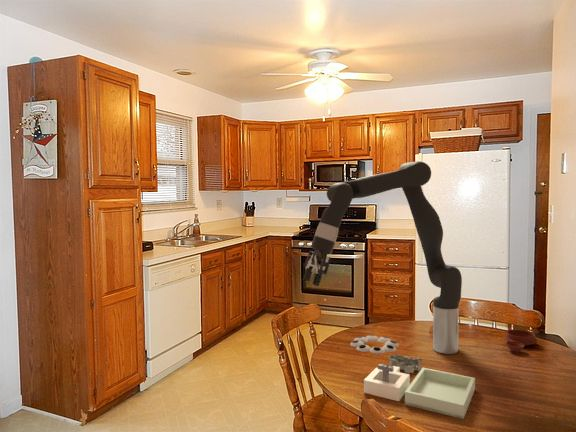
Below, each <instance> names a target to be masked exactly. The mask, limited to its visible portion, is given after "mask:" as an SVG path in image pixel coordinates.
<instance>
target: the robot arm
mask: <svg viewBox="0 0 576 432" xmlns="http://www.w3.org/2000/svg"><path fill="white" fill-rule="evenodd" d="M431 177H432V170H431V167H430V166H429V164H428V163H426V162H423V161H418V160H417V161H409V162H405V163H403V164H401V165H400V166H399V168H398V169H397V170H396V171H395V170H394V171H389V172H384V173H382V172H381V173H376V174H372V175H368V176H363V177H359V178H356V179H353V180H346V181H341V182H337V183H334V184H333V183H332V184H331V185H330V186H328V189H327V190H326V197H327V199H328V200H329V201H330V203H329V205H328V206H327V207H326V208H324V210H323V212H322V214H321V217H320V221H319V223H318V225H317V227H316V230H315V233H314V236H313V239H312V242H311V245H310V247H311V248H312V249H313V251H311V250H309V252H308V254H307V257H306V258H305V262H304V266H303V267H305V273H304V275H303V279H302V280H303V281H306V282H310V280H311V276H312V274H313V272H314V269H315V274H314V277H313V280H312V285H314V286H317V287H319V286H320V283H321V280H322V277H324V275H325V276H326V275H327V273H328V270H329V267H330V263H331V260H332V258H331V257H330V256H328V255H332V253H333V250H334V247H335V244H336V241H337V238H338V234H339V229H340V228H341V227H340V226H341V224H342V220H343V217H344V215H345V214H346V213H347V211H348V208H349V207H350V205H351V203H352V200H353V199H354V200H355V199H362V198H367V197H370V196H374V195H377V194H382V193H385V192H387V191H391V190H395V189H399V188H402V191H403V193H404V195H405V198H406V201H407V204H408V206H409V209H410V214H411V215H412V218H413V222H414V227H415V229H416V233H417V235H418V238H419V241H420V245H421V248H422V252H423V255H424V260H425V262H426V263H425V264H426V268H427V269H426V270H427V274H428V278H429V281H430V283H431V284H432V285H433V286H435V287H436V288H440V292H439V293H440V294H439V296H435V297H434V298H433V300H432V301H433V302H432V304H433V307H432V317H433V319H432V321H433V322H432V328H433V329H432V349H433V351H435V352H437V353H440V354H444V355H445V354H446V355H453V354H458V352H459V304H460V302H461V299H462V287H463V286H462V285H463V280H462V279H463V276H462V273H461V271H460V269H458V268H457V267H456V266H452V265H447V264H446V262H445V261H444V257H443V253H442V243H443V238H444V229H443V225H442V222H441V219H440V216H439V213H438V212H437V211H436V209H435V208H434V206H433V205H432V204H431V202H429V200H428V199H427V198H426V196H425V194H424V191H423V187H422V186H425V185H426V184H427V183H428V182H429V181H430V179H432V178H431Z"/></svg>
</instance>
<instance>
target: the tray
mask: <svg viewBox="0 0 576 432" xmlns="http://www.w3.org/2000/svg"><path fill="white" fill-rule="evenodd" d="M475 391H476V377H472V376H466V375H462V374H458V373H452V372H447V371H443V370H438V369H437V370H436V369H431V368H426V367H421V368H420V371H418V373H417V374H416V376H415V377H414V379H413V380H412V381H411V382H410V385H409V387H408V388H407V389H406V391H405V394H404V405H405V406H408V407H409V406H410V407H412V408H413V407H414V408H417V409H422V410H426V411H429V412H433V413H437V414H442V415H445V416H449V417H453V418H456V419H461V420H464V419H465V416H466V414H467V411H468V409H469V406H470V403H471V401H472V398H473V397H474V393H475Z"/></svg>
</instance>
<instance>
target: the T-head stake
mask: <svg viewBox="0 0 576 432" xmlns="http://www.w3.org/2000/svg"><path fill="white" fill-rule="evenodd" d="M377 368H378V369H380V370H382V381H383V382H388V383H389V372H393V371H394V367H392V366H390V365H387V364H382V363H379V364H378V365H377Z"/></svg>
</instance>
